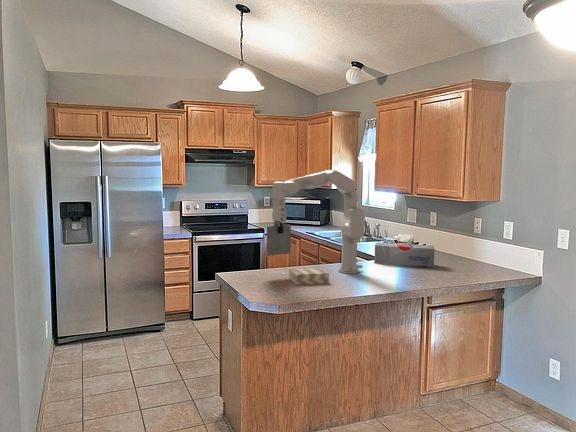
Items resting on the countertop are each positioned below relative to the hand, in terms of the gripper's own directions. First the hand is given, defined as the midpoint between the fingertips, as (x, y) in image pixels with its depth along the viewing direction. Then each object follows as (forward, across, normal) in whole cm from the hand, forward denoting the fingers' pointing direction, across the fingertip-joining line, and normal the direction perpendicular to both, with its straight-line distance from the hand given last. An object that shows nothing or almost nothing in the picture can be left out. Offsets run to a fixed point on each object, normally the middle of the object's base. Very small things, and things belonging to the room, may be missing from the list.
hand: (278, 232), depth 286 cm
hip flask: (+13, 0, 0) cm, 13 cm away
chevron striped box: (+27, -18, -11) cm, 34 cm away
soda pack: (+29, -1, -98) cm, 102 cm away
